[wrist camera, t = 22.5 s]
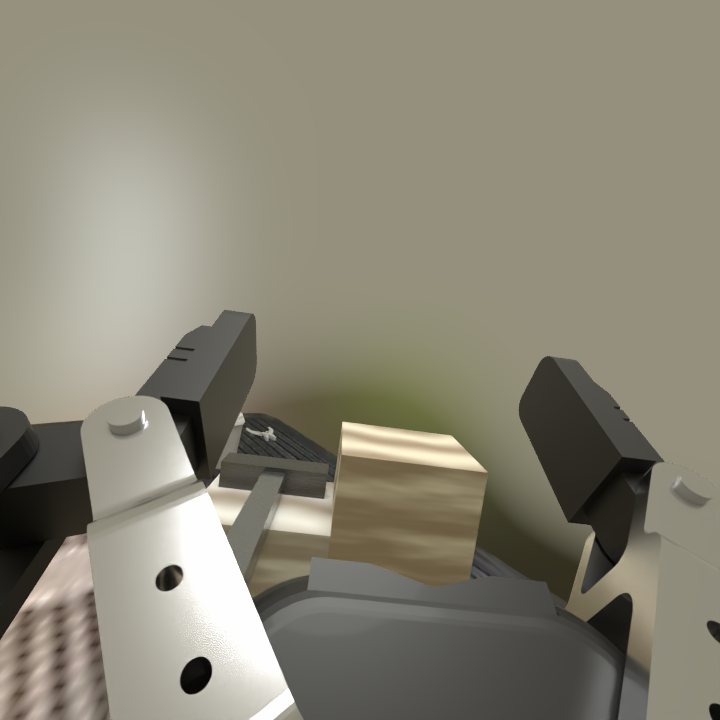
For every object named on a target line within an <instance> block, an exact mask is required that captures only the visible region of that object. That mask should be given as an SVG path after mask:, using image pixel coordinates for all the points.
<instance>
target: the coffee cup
mask: <svg viewBox="0 0 720 720" xmlns="http://www.w3.org/2000/svg"><path fill="white" fill-rule="evenodd" d="M244 423H245V420H244V417H243V414H242V413H240V414H239V416H238V418H237V420H236V423H235V425H234V427H233V429H232V432H231V434H230V436H229V438H228V441H227V443H226V445H225V448H224V450H223V452H222V454H221V457H220V459H219V461H218V463H217V466H216V468H215V469H220V468H221V461H222V460H223V459H224V458H225V457H226V456H227V455H228V453H229V452H232V453H237V449H238V444H239V439H240V435H241V430H242V425H243V424H244Z"/></svg>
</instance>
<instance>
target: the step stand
mask: <svg viewBox="0 0 720 720" xmlns="http://www.w3.org/2000/svg"><path fill="white" fill-rule="evenodd" d="M487 475H488V472H487V471H486V470H485V469H484V468H483V467H482V466H481V465H480V464H479V463H478V462H477V461H476V460H475V459H474V458H473V457H472V456H471V455H470V454H469V453H468V452H467V451H466V450H465V449H464V448H463V447H462V446H461V445H460V444H459V443H458V442H457V441H456V440H455V439H454V438H453V437H452V436H450V435H442V434H434V433H426V432H418V431H411V430H403V429H395V428H387V427H380V426H371V425H364V424H356V423H348V422H343V423H342V430H341V437H340V444H339V451H338V458H337V466H336V473H335V480H334V483H331V482H327V483H326V490H325V497H324V499H318V498H310V497H301V496H292V495H284V494H283V495H282V498H281V500H280V503H279V506H278V508H277V511H276V514H275V517H274V519H273V522H272V525H271V527H270V530H269V533H268V535H267V538H266V541H265V544H264V546H263V549H262V552H261V554H260V557H259V560H258V562H257V565H256V568H255V570H254V573H253V576H252V579H251V581H250V584H249V587H248V591H249V594H250V596H251V599H252V598H253V597H255V596H257V595H258V594H260V593H261V592H263V591H265V590H266V589H268V588H270V587H272V586H274V585H277V584H279V583H281V582H284V581H287V580H290V579H293V578H296V577H301V576H306V575H309V574H310V567H311V560H312V557H316V558H325V559H334V560H344V561H353V562H362V563H371V564H374V565H376V566H379V567H381V568H384V569H387V570H389V571H392V572H394V573H397V574H400V575H402V576H405V577H407V578H410V579H413V580H415V581H418V582H420V583H423V584H426V585H429V586H443V585H448V584H453V583H458V582H463V581H468V580H469V578H470V573H471V567H472V561H473V555H474V550H475V544H476V537H477V532H478V527H479V521H480V515H481V509H482V504H483V498H484V492H485V487H486V481H487ZM219 477H220V474H219V475H218V476H217V478H216V479H215V480H214V481H213V482H212V483H211V485H210V486H209V487H208V488H207V489H206V490H207V492H208V495H209V497H210V499H211V502H212V504H213V507H214V509H215V512H216V514H217V516H218V519H219V521H220V524H221V526H222V528H223V531H224V533H225V536H226V535H227V534H228V532H229V530H230V528H231V526H232V525H233V523H234V521H235V519H236V518H237V516H238V514H239V512H240V511H241V509H242V507H243V505H244V504H245V502H246V500H247V498H248V497H249V495H250V493H251V491H249V490H240V489H232V488H223V487H218V486H219Z"/></svg>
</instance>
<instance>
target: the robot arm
mask: <svg viewBox="0 0 720 720" xmlns="http://www.w3.org/2000/svg"><path fill="white" fill-rule="evenodd" d="M256 364H257V356H256V320H255V316H254V314H249V313H243V312H236V311H229V310H224V311H223V312H222V314H221V315H220V316H219V318H218V319H217V320H216V322H215V323H214V324H213V326H212V327H210V326H200V327H198V328H196V329H195V330H193V331H191V332H190V333H187V334H186V335H185V336H184V337H183V338H182V339H181V341H180V342H179V343H178V344H177V346H176V348H175V349H173V350H172V351H171V353H170V354H169V355H168V356H167V359H165V360H164V361H163V362H162V364H161V365H160V366H159V367H158V368H157V370H156V371H155V372H154V373H153V374H152V376H151V377H150V378H149V379H148V380H147V382H146V383H145V384H144V385H143V386H142V388H141V389H140V390H139V391H138V392H137V394H136V395H135V396H128V397H124V398H119V399H116V400H113V401H110V402H108V403H106V404H104V405H102V406H100V407H98V408H97V409H95V410H94V411H93V412H92V413H91V414H89V416H88V417H87V418H86V419H85V420H84V422H80V423H71V424H62V425H52V426H43V427H33V428H32V426H31V424H30V422H29V420H28V418H27V416H26V415H25V414H24V413H23V412H22V411H19V410H18V409H15V408H11V407H0V639H1V638H2V636H3V635H4V633H5V632H6V630H7V629H8V627H9V625H10V624H11V622H12V621H13V619H14V618H15V616H16V615H17V613H18V611H19V610H20V608H21V607H22V605H23V604H24V602H25V601H26V599H27V598H28V596H29V594H30V593H31V591H32V590H33V588H34V587H35V585H36V584H37V582H38V580H39V579H40V577H41V576H42V574H43V573H44V571H45V570H46V568H47V567H48V565H49V563H50V562H51V560H52V559H53V557H54V556H55V554H56V553H57V551H58V550H59V548H60V546H61V545H62V543H63V542H64V540H65V539H66V537H68V536H74V535H79V534H84V533H87V540H88V548H89V556H90V563H91V571H92V579H93V586H94V594H95V601H96V609H97V617H98V624H99V632H100V640H101V647H102V655H103V663H104V670H105V678H106V686H107V693H108V701H109V709H110V716H111V720H720V490H719V489H718V488H717V487H716V486H715V485H714V484H712V483H711V482H710V481H708V480H707V479H706V478H704V477H703V476H701V475H699V474H698V473H696V472H694V471H692V470H690V469H688V468H686V467H683V466H681V465H677V464H674V463H668V462H664V460H663V459H662V458H661V457H660V456H659V455H658V453H657V452H656V451H655V449H654V448H653V447H652V446H651V445H650V443H649V442H648V441H647V440H646V438H645V437H644V436H643V435H642V433H641V432H640V431H639V430H638V429H637V427H636V426H635V425H634V424H633V422H629V420H630V419H629V418H628V416H627V415H626V414H625V413H624V411H623V410H620V406H619V405H618V404H617V403H616V402H615V400H614V399H613V398H612V397H611V395H610V394H609V393H608V392H607V391H605V390H604V389H603V388H601V387H600V386H599V385H597V384H596V383H595V382H593V380H592V379H591V378H590V376H589V375H588V374H587V372H586V371H585V370H584V369H583V367H582V366H581V365H580V364H579V363H578V362H577V361H576V360H571V359H564V358H557V357H550V356H547V357H545V358H543V359H542V360H541V362H540V363H539V365H538V367H537V369H536V370H535V372H534V374H533V377H532V378H531V380H530V382H529V384H528V386H527V388H526V390H525V392H524V394H523V396H522V398H521V400H520V404H519V416H520V420H521V422H522V424H523V426H524V428H525V430H526V433H527V435H528V437H529V439H530V441H531V443H532V445H533V448H534V450H535V452H536V454H537V456H538V459H539V461H540V463H541V465H542V467H543V469H544V471H545V474H546V476H547V478H548V480H549V482H550V484H551V486H552V489H553V491H554V493H555V495H556V497H557V500H558V502H559V504H560V506H561V508H562V510H563V512H564V515H565V517H566V519H567V521H568V522H570V523H579V524H587V525H591V526H592V528H593V530H594V531H593V533H592V534H591V535H590V536H589V537H588V538H587V540H586V543H585V547H584V550H583V554H582V557H581V561H580V565H579V568H578V571H577V575H576V579H575V582H574V585H573V589H572V593H571V596H570V599H569V602H568V604H567V606H566V608H565V609H563V608H561V607H559V606H557V605H555V604H554V603H553V601H552V598H551V595H550V592H549V590H548V587H547V584H546V582H539V581H531V580H521V579H512V578H503V577H493V576H488V577H483V578H478V579H473V580H468V581H463V582H458V583H453V584H448V585H443V586H429V585H426V584H423V583H420V582H418V581H415V580H413V579H410V578H407V577H405V576H402V575H400V574H397V573H394V572H392V571H389V570H387V569H384V568H381V567H379V566H376V565H374V564H371V563H362V562H353V561H344V560H334V559H325V558H316V557H312V560H311V567H310V574H309V575H306V576H301V577H296V578H293V579H290V580H287V581H284V582H281V583H279V584H277V585H274V586H272V587H270V588H268V589H266V590H265V591H263V592H261V593H260V594H258V595H257V596H255V597H253V598H252V599H251V596H250V594H249V591H248V589H247V587H246V584H245V582H244V579H243V577H242V575H241V572H240V570H239V567H238V565H237V562H236V560H235V558H234V555H233V553H232V550H231V548H230V545H229V543H228V541H227V538H226V536H225V533H224V531H223V528H222V526H221V524H220V521H219V519H218V516H217V514H216V512H215V509H214V507H213V504H212V502H211V499H210V497H209V495H208V492H207V490H206V488H205V486H204V484H203V482H202V480H201V479H198V480H197V478H204V479H211V477H212V475H213V473H214V470H215V468H216V466H217V463H218V461H219V459H220V457H221V454H222V452H223V450H224V448H225V445H226V443H227V441H228V438H229V436H230V434H231V432H232V429H233V427H234V425H235V423H236V420H237V418H238V416H239V414H240V411H241V409H242V407H243V404H244V402H245V400H246V398H247V395H248V393H249V391H250V389H251V386H252V384H253V381H254V378H255V373H256Z"/></svg>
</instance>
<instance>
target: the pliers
mask: <svg viewBox="0 0 720 720" xmlns="http://www.w3.org/2000/svg"><path fill="white" fill-rule="evenodd" d="M268 428H269V430H270V431H266V432H265V433H264V432H263V433H261V432H256V431H251V430H250V429H248V428H246V430H247V431H248V432H250V433H252V434H255V435H259V436H264V439H265V440H266V441H268V439H269V438H270V439H272V440H274V441H275V440H276V437H275V436H274V435H273V429H272V428H270V427H268ZM267 432H269V433H267Z"/></svg>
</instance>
